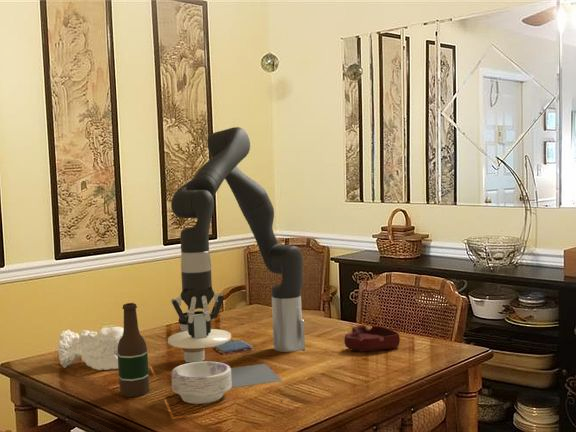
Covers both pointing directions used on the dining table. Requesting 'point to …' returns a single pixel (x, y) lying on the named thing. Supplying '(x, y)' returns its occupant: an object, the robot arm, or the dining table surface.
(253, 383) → the mat
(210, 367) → the paper bowls
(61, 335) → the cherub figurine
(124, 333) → the beer bottle
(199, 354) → the coffee cup
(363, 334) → the ashtray
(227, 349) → the woven mat
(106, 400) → the dining table surface
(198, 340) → the lid
